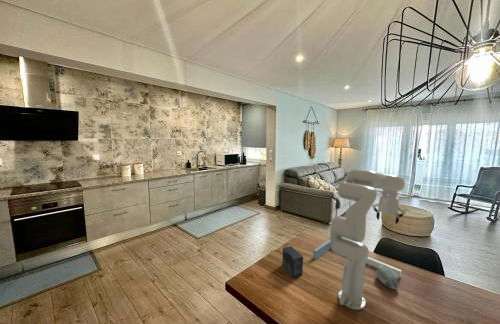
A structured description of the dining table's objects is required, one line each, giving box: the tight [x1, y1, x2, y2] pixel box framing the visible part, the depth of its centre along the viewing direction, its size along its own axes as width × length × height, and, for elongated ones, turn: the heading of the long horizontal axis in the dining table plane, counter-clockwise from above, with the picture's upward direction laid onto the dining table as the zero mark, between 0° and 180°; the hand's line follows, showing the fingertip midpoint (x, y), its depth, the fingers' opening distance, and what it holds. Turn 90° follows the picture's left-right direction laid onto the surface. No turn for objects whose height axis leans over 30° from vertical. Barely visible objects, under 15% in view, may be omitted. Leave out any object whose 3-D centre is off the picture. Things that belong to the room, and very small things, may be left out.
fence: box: [312, 239, 403, 278], centre depth 135 cm, size 23×45×6 cm, turn 42°
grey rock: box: [375, 265, 400, 290], centre depth 120 cm, size 14×10×10 cm
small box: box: [281, 245, 304, 278], centre depth 131 cm, size 13×7×12 cm, turn 22°
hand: (387, 221), depth 132 cm, fingers open, 9 cm apart
